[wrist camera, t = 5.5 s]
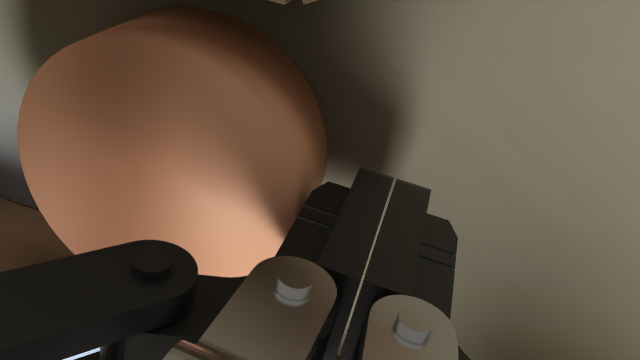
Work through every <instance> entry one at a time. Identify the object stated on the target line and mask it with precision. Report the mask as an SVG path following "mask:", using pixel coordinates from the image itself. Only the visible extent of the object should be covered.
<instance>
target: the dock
mask: <svg viewBox="0 0 640 360" xmlns="http://www.w3.org/2000/svg"><path fill="white" fill-rule="evenodd" d="M269 1H273V2H276V3H279V4H283V5H285V4H287V3H288V2H290V1H291V0H269ZM302 1H303V4H308V3H311V2H314V1H317V0H302ZM72 255H75V254H74V253H73V252H72V251H71V250H70V249H69V248H68V247H67V246H66V245H65V244H64V243H63V242H62V241H61V240H60V238H59V237H58V236H57V235H56V233H55V232H54V231H53V229H52V228H51V227H50V226H49V224H48V223H47V221H46V220H45V218H44V216H43V215H42V213H41V212H40V211H37V210H34V209H31V208H29V207H26V206H23V205H20V204H17V203H14V202H11V201H9V200H6V199H3V198H0V272H3V271H7V270H12V269H16V268H20V267H24V266H29V265H33V264H37V263H42V262H46V261H50V260H55V259H59V258H63V257H68V256H72ZM335 360H338V358H336V357H335Z"/></svg>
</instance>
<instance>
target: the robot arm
mask: <svg viewBox="0 0 640 360" xmlns="http://www.w3.org/2000/svg"><path fill="white" fill-rule="evenodd" d="M393 179H394V178H393V177H390V176H387V175H383V174H380V173H377V172H374V171H371V170H368V169H365V168H362V167H360V169H359V171H358V173H357V176H356V178H355V180H354V182H353V185H352V187H351V189H350V188H347V187H344V186H341V185H338V184H335V183H332V182H327V183H325V184H323V185H321V186H319V187H317V188H316V189H314V190H312V192H311V193H310V195H309V197H308V199H307V200H306V202H305V204H304V207H303V208H302V209H301V211H300V213H299V215H298V217H297V218H296V220H295V222H294V223H293V225H292V227H291V229H290V230H289V232H288V234H287V236H286V237H285V239H284V241H283V243H282V244H281V246H280V248H279V250H278V251H277V253H276V255H275V257H271V258H268V259H265V260H263V261H261V262H260V263H258V264H257V265H256V266H255V267H254V268H253V269H252V271H251V272H250V273H249V275H248V276H242V277H219V276H209V275H200V274H198V266H197V263H196V261H195V259H194V257H193V256H192V255H191V254H190V253H189V252H188V251H186V250H185V249H183V248H182V247H180V246H178V245H175V244H173V243H170V242H166V241H160V240H138V241H133V242H128V243H124V244H120V245H115V246H111V247H107V248H102V249H98V250H94V251H89V252H85V253H81V254H76V255H72V256H68V257H63V258H59V259H55V260H50V261H46V262H42V263H37V264H33V265H29V266H24V267H20V268H16V269H12V270H7V271H3V272H0V360H63V359H66V358H69V357H72V356H75V355H78V354H81V353H84V352H87V351H90V350H93V349H96V348H99V347H100V351H99V352H96V353H93V354H90V355H87V356H84V357H81V358H78V359H75V360H335V357H336V354H337V351H338V348H339V345H340V342H341V339H342V336H343V333H344V330H345V327H346V324H347V321H348V318H349V315H350V312H351V309H352V306H353V302H354V299H355V296H356V293H357V290H358V287H359V284H360V281H361V278H362V275H363V272H364V269H365V266H366V263H367V260H368V256H369V253H370V250H371V247H372V244H373V241H374V238H375V235H376V232H377V229H378V226H379V222H380V219H381V216H382V213H383V210H384V207H385V204H386V201H387V198H388V195H389V191H390V188H391V185H392V182H393ZM430 192H431V189H427V188H424V187H421V186H418V185H415V184H412V183H409V182H406V181H403V180H399V179H397V180H396V183H395V186H394V189H393V192H392V195H391V198H390V201H389V204H388V207H387V210H386V213H385V216H384V219H383V222H382V225H381V228H380V231H379V234H378V237H377V240H376V243H375V246H374V249H373V252H372V255H371V258H370V261H369V265H368V268H367V271H366V274H365V277H364V280H363V284H362V287H361V290H360V293H359V296H358V299H357V302H356V306H355V309H354V312H353V315H352V318H351V321H350V325H349V328H348V331H347V334H346V337H345V340H344V344H343V347H342V350H341V353H340V356H339V359H338V360H471V359H470V358H469V357H468V356H467V355H466V354H465V353H464V352H463V351H462V350H461V348H460V347H459V346H458V338H457V333H456V330H455V327H454V326H453V324H452V322H451V321H450V315H451V304H452V294H453V283H454V272H455V271H454V269H455V262H456V257H455V256H456V251H457V240H458V237H457V235H456V234H455V232H454V230H453V228H452V226H451V224H450V222H449V220H445V219H442V218H439V217H436V216H433V215H430V214H427V208H428V203H429V197H430Z"/></svg>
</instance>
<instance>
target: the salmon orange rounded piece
mask: <svg viewBox="0 0 640 360" xmlns="http://www.w3.org/2000/svg"><path fill="white" fill-rule="evenodd" d="M18 149H19V155H20V162H21V165H22V169H23V173H24V177H25V179H26V182H27V185H28V187H29V190H30V192H31V195H32V197H33V198H34V200H35V202H36V204H37V206H38V208H39V210H40V212H41V213H42V215H43V216H44V218H45V220H46V221H47V223H48V224H49V226H50V227H51V228H52V229H53V231H54V232H55V233H56V235H57V236H58V237H59V238H60V240H61V241H62V242H63V243H64V244H65V245H66V246H67V247H68V248H69V249H70V250H71V251H72V252H73V253H74V254H75V255H76V254H81V253H85V252H89V251H94V250H98V249H102V248H107V247H111V246H115V245H120V244H124V243H128V242H133V241H138V240H160V241H166V242H170V243H173V244H175V245H178V246H180V247H182V248H183V249H185V250H186V251H188V252H189V253H190V254H191V255H192V256H193V257H194V259H195V261H196V263H197V266H198V274H200V275H209V276H219V277H242V276H248V275H249V273H250V272H251V271H252V269H253V268H254V267H255V266H256V265H257V264H258V263H260V262H261V261H263V260H265V259H268V258H271V257H275V255H276V253H277V251H278V250H279V248H280V246H281V244H282V243H283V241H284V239H285V237H286V236H287V234H288V232H289V230H290V229H291V227H292V225H293V223H294V222H295V220H296V218H297V217H298V215H299V213H300V211H301V209H302V208H303V207H304V204H305V202H306V200H307V199H308V197H309V195H310V193H311V192H312V190H314V189H316V188H317V187H319V186H321V184H322V181H323V178H324V174H325V169H326V162H327V138H326V131H325V125H324V121H323V117H322V114H321V110H320V107H319V105H318V102H317V100H316V98H315V95H314V93H313V91H312V89H311V87H310V86H309V84H308V82H307V80H306V79H305V77H304V75H303V74H302V73H301V71H300V70H299V69H298V67H297V66H296V65H295V63H294V62H293V61H292V60H291V58H290V57H289V56H288V55H287V54H286V53H285V52H284V51H283V50H282V49H281V48H280V47H279V46H278V45H277V44H275V43H274V42H273V41H272V40H271V39H269V38H268V37H267V36H266V35H265V34H263V33H261V32H260V31H258V30H257V29H255V28H254V27H252V26H251V25H249V24H247V23H245V22H243V21H241V20H239V19H237V18H235V17H233V16H230V15H227V14H224V13H221V12H218V11H214V10H209V9H204V8H198V7H172V8H163V9H159V10H156V11H152V12H148V13H146V14H143V15H141V16H139V17H136V18H134V19H131V20H129V21H126V22H124V23H121V24H119V25H116V26H114V27H112V28H109V29H107V30H104V31H102V32H99V33H97V34H94V35H92V36H89V37H87V38H85V39H82V40H80V41H77V42H75V43H73V44H71V45H69V46H66V47H64V48H63V49H61V50H60V51H59V52H57V53H56V54H54V55H53V56H51V57H50V58H49V59H48V60H47V61H46V62H45V63H44V64H43V65H42V66H41V67H40V68H39V70H38V71H37V73H36V74H35V75H34V77H33V78H32V80H31V81H30V83H29V86H28V88H27V90H26V92H25V94H24V97H23V100H22V104H21V108H20V111H19V119H18Z"/></svg>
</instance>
